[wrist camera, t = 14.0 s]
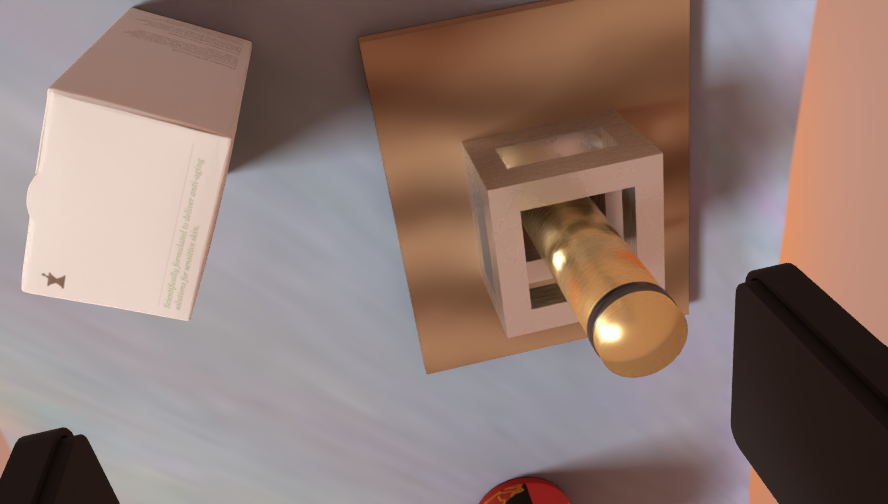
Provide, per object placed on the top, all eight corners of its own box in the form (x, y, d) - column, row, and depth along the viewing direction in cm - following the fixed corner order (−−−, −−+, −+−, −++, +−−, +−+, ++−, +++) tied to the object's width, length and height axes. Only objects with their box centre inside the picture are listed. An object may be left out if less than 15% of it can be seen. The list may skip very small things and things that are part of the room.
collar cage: (461, 141, 45) (487, 190, 39) (614, 109, 46) (663, 153, 40) (481, 275, 50) (507, 338, 44) (620, 245, 50) (665, 302, 45)
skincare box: (221, 178, 45) (194, 334, 32) (96, 148, 43) (11, 301, 30) (256, 34, 42) (242, 140, 28) (122, -5, 40) (39, 88, 26)
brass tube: (508, 172, 47) (596, 311, 34) (575, 158, 47) (689, 290, 34) (515, 233, 49) (600, 387, 36) (580, 219, 49) (688, 366, 36)
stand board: (357, 37, 43) (359, 43, 42) (680, -26, 44) (689, -22, 43) (424, 363, 54) (427, 374, 53) (681, 304, 55) (688, 314, 54)
